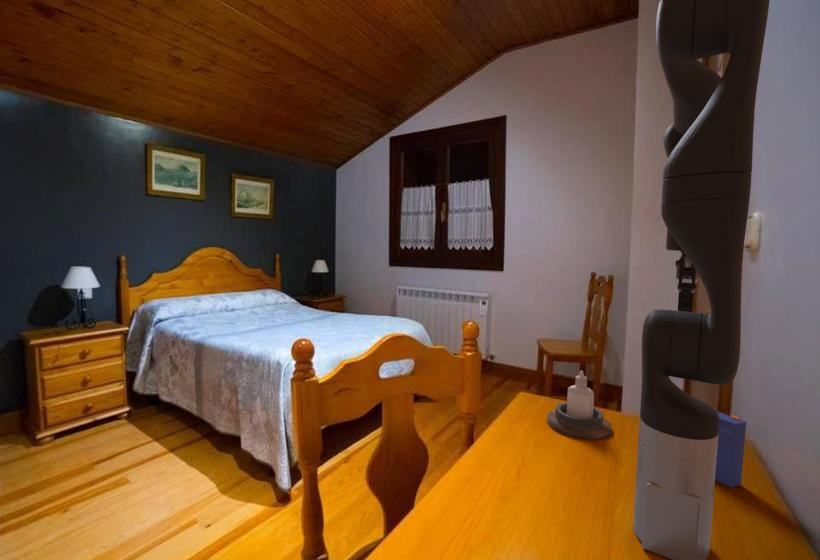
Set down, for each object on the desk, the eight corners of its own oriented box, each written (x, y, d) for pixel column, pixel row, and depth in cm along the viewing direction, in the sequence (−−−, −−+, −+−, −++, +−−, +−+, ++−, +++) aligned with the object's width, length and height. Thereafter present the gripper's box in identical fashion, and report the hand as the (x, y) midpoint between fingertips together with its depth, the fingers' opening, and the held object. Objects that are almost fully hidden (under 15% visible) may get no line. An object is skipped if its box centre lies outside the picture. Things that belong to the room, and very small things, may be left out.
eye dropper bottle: (580, 427, 90) (582, 376, 89) (563, 417, 95) (565, 368, 94) (595, 424, 92) (598, 374, 90) (578, 414, 97) (580, 367, 96)
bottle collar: (606, 446, 84) (606, 430, 83) (539, 428, 92) (540, 413, 91) (615, 422, 95) (616, 408, 95) (555, 408, 103) (556, 395, 103)
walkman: (741, 485, 70) (746, 420, 69) (730, 488, 70) (736, 422, 68) (696, 462, 78) (700, 403, 77) (686, 464, 77) (690, 405, 76)
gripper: (668, 228, 84) (663, 303, 86) (665, 224, 73) (660, 312, 74) (713, 227, 80) (707, 307, 81) (717, 223, 68) (710, 316, 70)
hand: (684, 309), depth 78 cm, fingers open, 8 cm apart
